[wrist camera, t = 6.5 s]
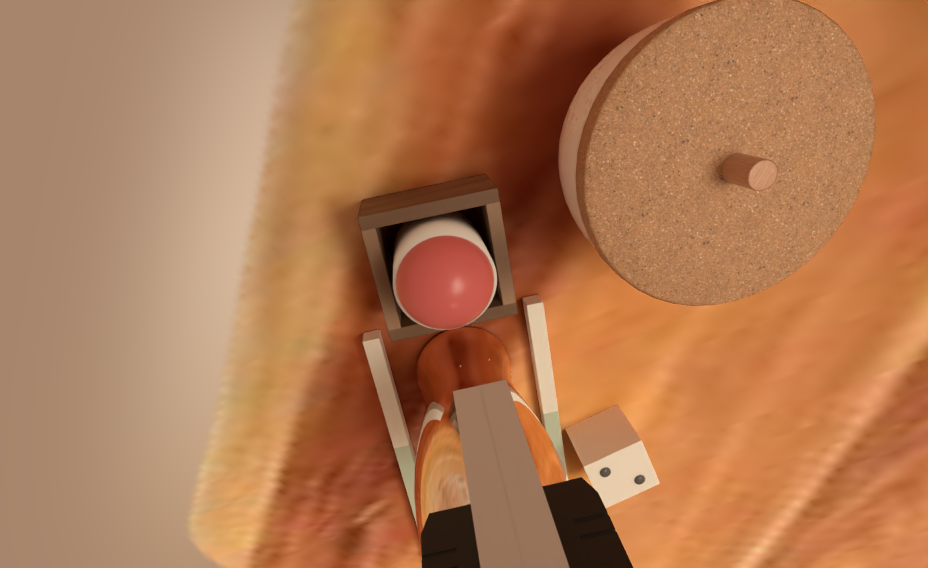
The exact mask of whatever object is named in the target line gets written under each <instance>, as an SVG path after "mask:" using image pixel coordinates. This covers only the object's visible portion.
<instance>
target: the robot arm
mask: <svg viewBox="0 0 928 568" xmlns="http://www.w3.org/2000/svg"><path fill="white" fill-rule="evenodd" d="M453 395H454V402H455V408H456V414H457V421H458V427H459V433H460V440H461V446H462V453H463V459H464V465H465V472H466V478H467V484H468V491H469V497H470V504H468V505H464V506H460V507H455V508H451V509H446V510H442V511H437V512H433V513H429V515H428V518H427V520H426V522H425V525H424V527H423V530H422V532H421V551H422V568H633V566H632V564H631V562H630V560H629V558H628V556H627V553H626V551H625V549H624V547H623V545H622V543H621V540H620V538H619V536H618V534H617V532H616V531H615V528H614V525H613V523H612V521H611V519H610V517H609V516H608V513H607V510H606V508H605V506H604V504H603V502H602V500H601V497H600V495H599V493H598V492H597V491H596V490H595V489H594V488H593V487H592V486H590V485H589V484H588V483H587V482H586V481H585V480H584V479H583V478H577V479H572V480H568V481H564V482H559V483H555V484H550V485H546V486H542V484H541V481H540V478H539V475H538V473H537V470H536V467H535V464H534V461H533V458H532V455H531V452H530V449H529V446H528V443H527V440H526V437H525V434H524V431H523V428H522V425H521V422H520V419H519V416H518V413H517V410H516V407H515V404H514V401H513V398H512V395H511V392H510V389H509V386H508V383H507V380H502V381H498V382H493V383H488V384H484V385H479V386H475V387H470V388H466V389H461V390H457V391H453Z"/></svg>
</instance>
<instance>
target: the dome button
mask: <svg viewBox="0 0 928 568" xmlns="http://www.w3.org/2000/svg"><path fill="white" fill-rule="evenodd" d="M496 286H497V273H496V268H495V265H494V262H493V260H492V258H491V256H490V254H489V252H488V250H487V248H486V246H485V244H484V242H483V241H482V239H481V237H480V235H479V233H478V231H477V229H476V227H475V226H474V225H473V223H472V222H471V221H470V220H469V219H468V218H467V217H466V216H464V215H463V214H461V213H459V212H457V211H454V212H450V213H445V214H440V215H436V216H431V217H426V218H421V219H417V220H412V221H407V222H404V223H403V225H402V226H401V227H400V229H399V231H398V233H397V235H396V238H395V241H394V248H393V290H394V295H395V298H396V301H397V303H398V305H399V306H400V308H401V309H402V311H403V312H404V313H405V314H406V315H407V316H408V317H409V318H410V319H411V320H413V321H414V322H416V323H418V324H420V325H422V326H424V327H427V328H431V329H436V330H450V329H456V328H459V327H462V326H465V325H467V324H469V323H471V322H473V321H474V320H476V319H477V318H478V317H480V316H481V315H482V314H483V313H484V312H485V310H486V309H487V308H488V306H489V305H490V303H491V302H492V299H493V297H494V294H495V291H496Z"/></svg>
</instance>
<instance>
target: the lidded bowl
mask: <svg viewBox="0 0 928 568" xmlns="http://www.w3.org/2000/svg"><path fill="white" fill-rule="evenodd" d="M874 136H875V103H874V96H873V89H872V83H871V80H870V78H869V75H868V72H867V69H866V67H865V64H864V61H863V59H862V57H861V56H860V54H859V52H858V50H857V49H856V47H855V45H854V43H853V42H852V40H851V39H850V38H849V37H848V36H847V35H846V33H845V32H844V31H843V30H842V29H841V28H840V26H839V25H838V24H837V23H835V22H834V21H833V20H831V19H830V18H829V17H827V16H826V15H825V14H823V13H822V12H821V11H819V10H817V9H815V8H813V7H811V6H809V5H807V4H804V3H802V2H800V1H798V0H716V1H713V2H710V3H707V4H704V5H701V6H698V7H695V8H693V9H690V10H687V11H685V12H683V13H681V14H678V15H675V16H672V17H669V18H667V19H664V20H661V21H659V22H657V23H655V24H653V25H651V26H649V27H647V28H645V29H643V30H642V31H640V32H638V33H636V34H634V35H632V36H630V37H629V38H628V39H626V40H625V41H624V42H622V43H621V44H620V45H618V46H617V47H616V48H614V49H613V50H612V51H611V52H610V53H609V54H607V55H606V56H605V57H604V58H603V59H602V60H601V61H600V62H599V63H598V64H597V65H596V66H595V67H594V68H593V70H592V71H591V72H590V74H589V75H588V76H587V78H586V79H585V80H584V82H583V83H582V84H581V86H580V87H579V89H578V91H577V93H576V95H575V96H574V98H573V100H572V102H571V104H570V106H569V109H568V112H567V114H566V117H565V120H564V123H563V127H562V132H561V136H560V141H559V154H558V165H559V177H560V181H561V186H562V190H563V194H564V198H565V201H566V203H567V206H568V208H569V210H570V213H571V215H572V217H573V219H574V221H575V222H576V224H577V225H578V227H579V228H580V230H581V232H582V233H583V235H584V236H585V238H586V239H587V240H588V241H589V242H590V244H591V245H592V246H593V247H594V248H595V249H596V250H597V251H598V253H599V254H600V256H601V257H602V259H603V260H604V261H605V262H606V263H607V264H608V265H609V266H610V267H611V268H612V269H613V270H614V271H615V273H616V274H618V275H619V276H620V277H621V278H622V279H624V280H625V281H626V282H628V283H629V284H630V285H632V286H633V287H634V288H636V289H637V290H639V291H641V292H643V293H645V294H647V295H649V296H651V297H653V298H656V299H659V300H663V301H666V302H670V303H673V304H682V305H691V306H701V305H716V304H721V303H727V302H732V301H736V300H739V299H742V298H745V297H748V296H751V295H754V294H756V293H758V292H760V291H763V290H765V289H767V288H769V287H771V286H773V285H775V284H777V283H779V282H780V281H782V280H783V279H785V278H786V277H788V276H789V275H791V274H792V273H794V272H795V271H796V270H797V269H799V268H800V267H801V266H802V265H804V264H805V263H806V262H807V261H809V260H810V259H811V258H812V257H813V256H814V255H815V254H816V253H817V252H818V251H819V250H820V249H821V248H822V247H823V246H824V244H825V243H826V242H827V241H828V240H829V239H830V238H831V236H832V235H833V234H834V232H835V231H836V230H837V229H838V227H839V226H840V225H841V223H842V222H843V221H844V219H845V217H846V215H847V214H848V212H849V210H850V208H851V207H852V205H853V203H854V201H855V199H856V197H857V195H858V193H859V190H860V188H861V186H862V184H863V181H864V179H865V177H866V173H867V169H868V166H869V162H870V158H871V155H872V149H873V143H874Z"/></svg>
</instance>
